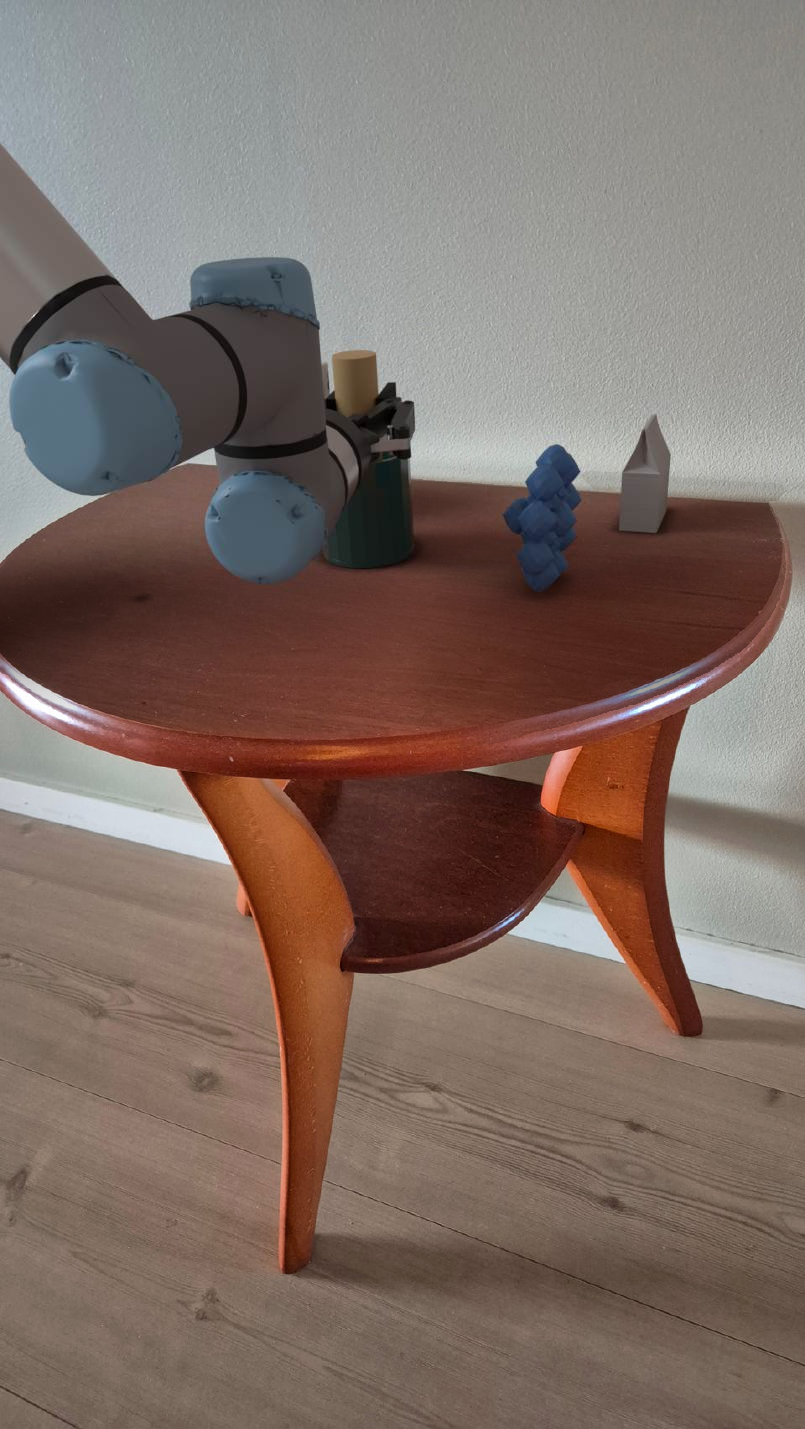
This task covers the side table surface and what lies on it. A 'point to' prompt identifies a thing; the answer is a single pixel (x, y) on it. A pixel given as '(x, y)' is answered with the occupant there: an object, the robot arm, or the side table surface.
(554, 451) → the grapes
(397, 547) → the dark green cup
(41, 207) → the robot arm
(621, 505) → the grey milk carton
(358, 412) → the tan cylinder
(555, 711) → the side table surface
